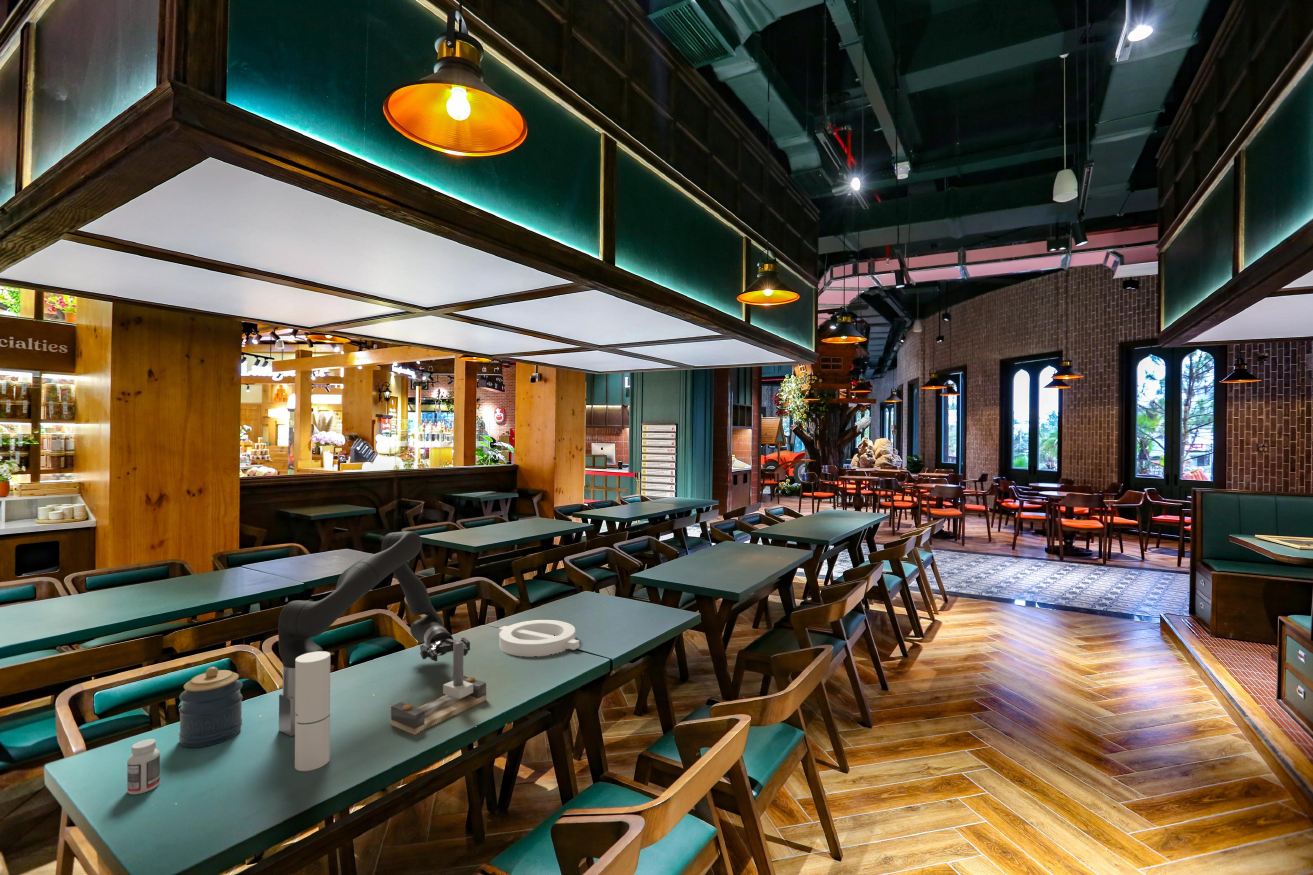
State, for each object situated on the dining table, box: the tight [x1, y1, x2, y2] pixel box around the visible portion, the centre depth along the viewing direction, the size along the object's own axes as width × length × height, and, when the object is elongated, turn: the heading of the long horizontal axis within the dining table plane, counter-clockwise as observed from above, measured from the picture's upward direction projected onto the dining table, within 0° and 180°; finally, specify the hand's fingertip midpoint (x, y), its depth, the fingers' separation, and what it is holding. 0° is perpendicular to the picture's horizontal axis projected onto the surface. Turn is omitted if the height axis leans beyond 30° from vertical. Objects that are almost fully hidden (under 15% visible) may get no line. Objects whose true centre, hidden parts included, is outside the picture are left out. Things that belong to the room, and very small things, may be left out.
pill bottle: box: [126, 738, 161, 795], centre depth 128 cm, size 5×5×10 cm
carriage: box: [442, 640, 473, 699], centre depth 169 cm, size 5×7×14 cm
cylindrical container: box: [294, 650, 331, 772], centre depth 138 cm, size 7×7×25 cm
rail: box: [390, 675, 487, 735], centre depth 164 cm, size 24×10×6 cm, turn 148°
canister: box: [178, 666, 243, 749], centre depth 150 cm, size 13×13×18 cm
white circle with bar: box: [498, 619, 580, 658], centre depth 220 cm, size 28×28×5 cm
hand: (451, 655), depth 176 cm, fingers open, 8 cm apart
